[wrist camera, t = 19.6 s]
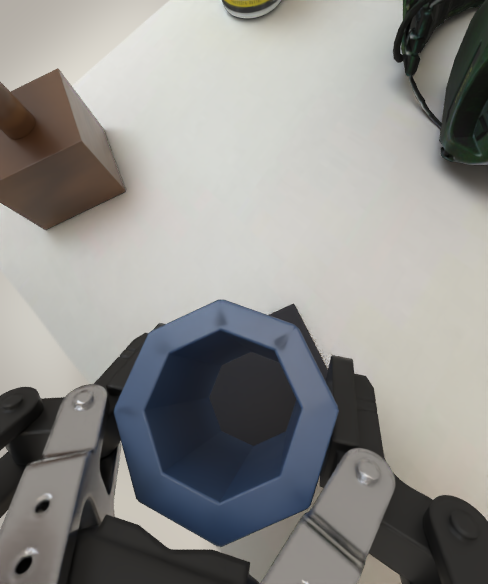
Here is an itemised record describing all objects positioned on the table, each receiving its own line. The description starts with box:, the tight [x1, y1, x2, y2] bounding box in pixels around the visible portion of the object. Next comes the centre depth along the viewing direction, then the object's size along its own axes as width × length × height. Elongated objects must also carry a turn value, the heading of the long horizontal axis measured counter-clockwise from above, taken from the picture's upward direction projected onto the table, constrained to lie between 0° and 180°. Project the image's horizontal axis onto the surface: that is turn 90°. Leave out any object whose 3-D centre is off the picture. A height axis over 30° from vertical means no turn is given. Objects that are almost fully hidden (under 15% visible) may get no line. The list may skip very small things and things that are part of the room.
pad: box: [209, 304, 328, 446], centre depth 20 cm, size 9×9×1 cm
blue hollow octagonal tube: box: [114, 300, 339, 547], centre depth 12 cm, size 6×6×7 cm
